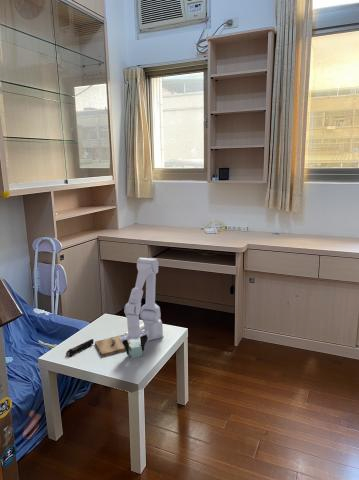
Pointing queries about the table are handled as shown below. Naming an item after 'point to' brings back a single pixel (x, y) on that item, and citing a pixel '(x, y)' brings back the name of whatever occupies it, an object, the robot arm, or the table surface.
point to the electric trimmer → (79, 348)
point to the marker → (140, 328)
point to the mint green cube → (135, 350)
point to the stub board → (110, 346)
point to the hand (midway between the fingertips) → (135, 351)
